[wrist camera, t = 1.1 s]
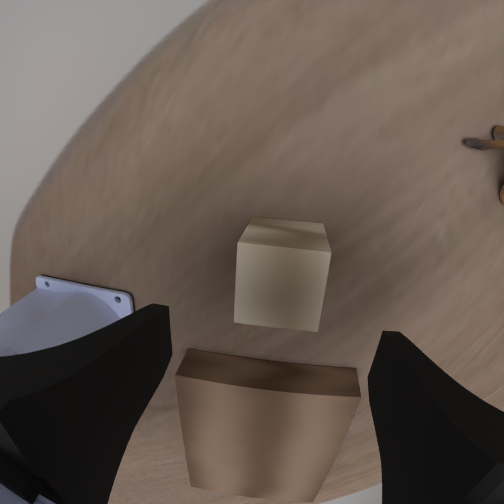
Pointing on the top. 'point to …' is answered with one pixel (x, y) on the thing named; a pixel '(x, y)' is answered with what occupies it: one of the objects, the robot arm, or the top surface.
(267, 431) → the walnut plinth
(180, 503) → the top surface
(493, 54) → the top surface
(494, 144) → the lion figurine
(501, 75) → the top surface
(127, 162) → the top surface
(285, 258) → the birch block
